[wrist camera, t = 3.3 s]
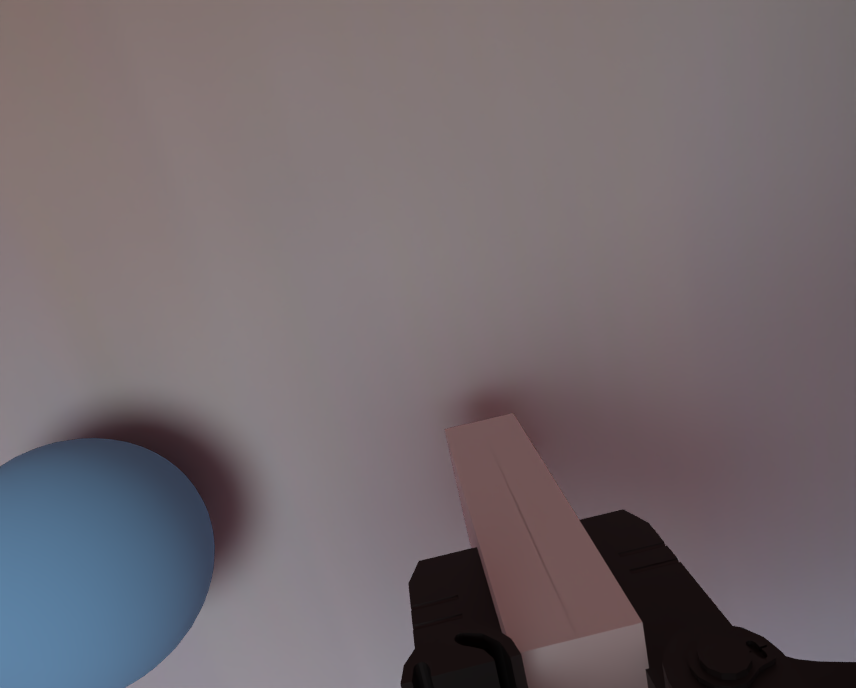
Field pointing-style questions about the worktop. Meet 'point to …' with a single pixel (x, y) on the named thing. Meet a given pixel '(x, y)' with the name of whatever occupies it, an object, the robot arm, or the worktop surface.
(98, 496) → the ball
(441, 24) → the worktop surface
